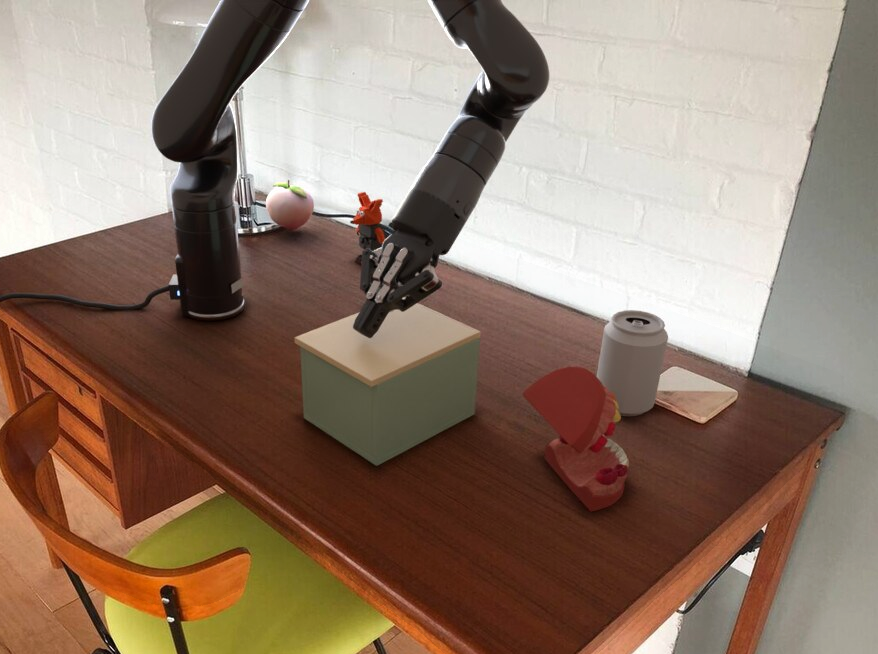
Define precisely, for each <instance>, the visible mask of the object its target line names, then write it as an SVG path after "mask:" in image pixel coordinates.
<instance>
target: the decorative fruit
mask: <svg viewBox="0 0 878 654" xmlns="http://www.w3.org/2000/svg"><path fill="white" fill-rule="evenodd" d="M272 187H273V189H272V190H271V191H270V192H269V194H268V195H267V197H266V200H265V208H266V212H267V214H268V216H269V218H270V219H271V220H272V221H273V223H275V224H276V225H277V226H280V227H283V228H284V229H287V230H289V231H290V232H292V231H294V230H297V229H299V228H301V227H302V226H304V225H305V224H306V223H307V222H309V220H310V219H311V217H312V215H313V213H314V208H315V203H314V198H313V196H312V195H311V193H310V192H309V191H308V190H307V189H305V188H303V187H300V186H297V185H291V184H290V179H288V180H287V182H286V181H280V182H275V183H273V185H272Z"/></svg>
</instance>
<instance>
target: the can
mask: <svg viewBox="0 0 878 654" xmlns="http://www.w3.org/2000/svg"><path fill="white" fill-rule="evenodd" d="M610 320H611V321H609V322H607V323H606V324H605V327H603V333H602V341H601V345H600V353H599V357H598V358H599V360H598V366H597V372H596V377H597V378H598V379H599V380H600V381H601V382H602V384H603V386H605V387H606V389H607V390H608V391H610V392H611V393H613V395H614V397H615V399H616V402H617V404H618V406H619V408H618V412H619V414H620V416H621V417H637V416H641V415H643V414H644V413H646V412H648V411H650V410H652V409H653V408H654V406H655V402H656V399H657V394H658V389H659V385H660V380H661V379H660V378H661V374H662V370H663V365H664V361H665V355H666V350H667V345H668V339H669V334H668V331H666V329H665V327H666V324H665V321H664V320H663V319H662V318H661V317H660V316H658V315H656V314H654V313H650V312H648V311H644V310H634V309H628V310H626V309H625V310H621V311H618V312H616V313H613V314H612V316H611V318H610Z"/></svg>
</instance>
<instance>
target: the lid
mask: <svg viewBox="0 0 878 654" xmlns="http://www.w3.org/2000/svg"><path fill="white" fill-rule="evenodd" d="M405 298H406V297H403V298H402V299H403V300H404V299H405ZM358 314H359V312H356V313H354V314H351V315H349V316H347V317H344V318H341V319H339V320H336V321H334V322H331V323H328V324H325V325H323V326H320V327H318V328H316V329H312V330H310V331H308V332H305V333H302V334H300V335H297V336H295V337H294V344H296V345H297V346H299V347H300V346H301V347H303V348H304V349H306V350H308V351H310V352H311V353H313V354H315V355H317V356H318V357H320V358H322V359H324V360H325V361H327V362H329V363H331V364H332V365H334V366H336V367H338V368H339V369H341V370H343V371H345V372H346V373H348V374H350V375H352V376H353V377H355V378H357V379H359V380H360V381H362V382H364V383H366V384H367V385H369V386H371V387H373V386H375V385H377V384H379V383H381V382H383V381H386V380H388V379H390V378H392V377H394V376H397V375H399V374H401V373H403V372H405V371H407V370H410V369H412V368H414V367H416V366H418V365H421V364H423V363H425V362H427V361H429V360H431V359H434V358H436V357H438V356H440V355H442V354H445V353H447V352H449V351H451V350H453V349H455V348H458V347H460V346H462V345H464V344H466V343H469V342H471V341H473V340H475V339H477V338H480V339H481V335H482V334H481V333H482V332H481V331H480V330H478V329H477V328H474V327H472V326H470V325H468V324H465V323H463V322H461V321H458V320H456V319H454V318H452V317H449V316H447V315H445V314H443V313H441V312H438V311H436V310H434V309H432V308H429V307H428V306H425V305H422V304H421V303H419V302H418V303H417V304H415V305H413V306H412V307H410V308H409V309H407V310H406V311H404V312H401V311H400V310H394V311H393V312H389V313H388V315H387V316H386V318H385V320H384V321H383V323H382V324H381V326H380V328H379V330H378V331H377V332H376V333H375V334H374V335H373V337H372V338H368V337H366V336H364V335H362V334H360V333H359V332H357V331H356V330H354V329H353V325H354V322H355V319H356V317H357V316H358Z"/></svg>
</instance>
